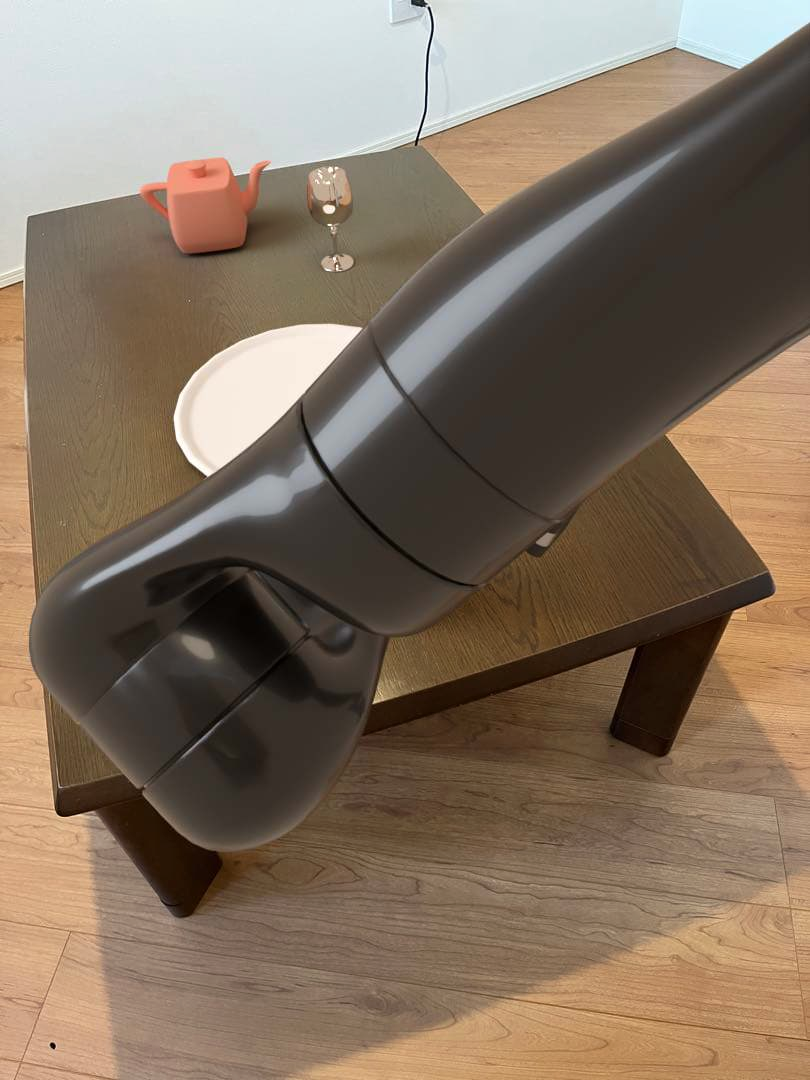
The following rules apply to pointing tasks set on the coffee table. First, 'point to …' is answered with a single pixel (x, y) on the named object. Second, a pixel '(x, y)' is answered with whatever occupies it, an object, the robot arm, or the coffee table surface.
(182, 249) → the teapot
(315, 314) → the coffee table surface
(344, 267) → the wineglass
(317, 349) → the plate
